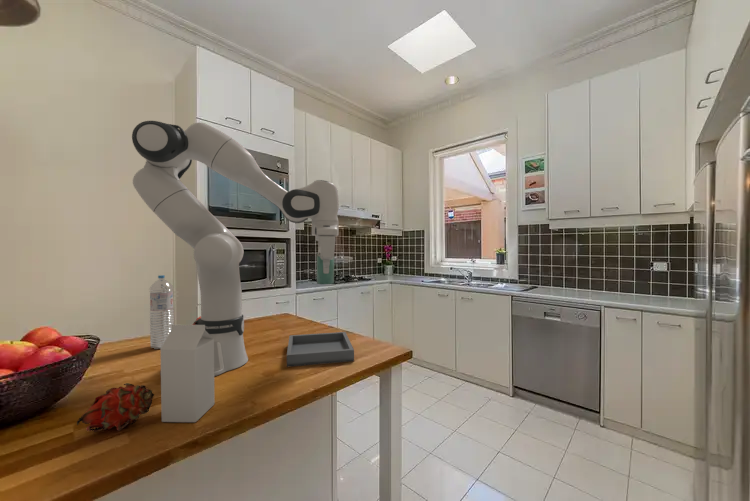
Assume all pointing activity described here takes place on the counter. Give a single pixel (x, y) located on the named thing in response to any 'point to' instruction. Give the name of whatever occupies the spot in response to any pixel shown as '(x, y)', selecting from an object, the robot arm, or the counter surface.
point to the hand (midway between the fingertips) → (325, 272)
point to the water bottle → (161, 311)
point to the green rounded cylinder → (321, 276)
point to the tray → (319, 349)
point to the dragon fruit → (117, 407)
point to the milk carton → (187, 374)
